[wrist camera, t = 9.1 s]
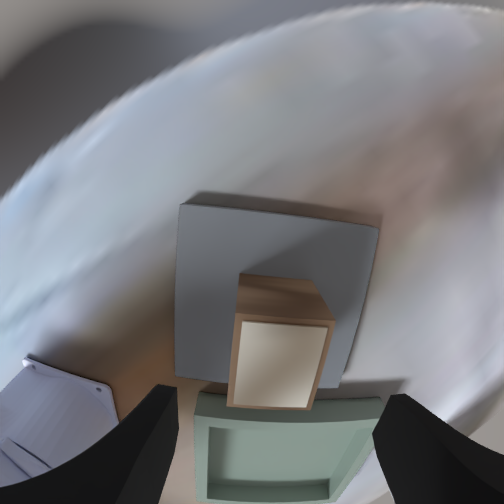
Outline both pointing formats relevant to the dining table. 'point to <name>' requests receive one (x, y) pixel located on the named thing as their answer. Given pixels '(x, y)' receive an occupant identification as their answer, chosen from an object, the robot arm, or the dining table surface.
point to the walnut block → (278, 343)
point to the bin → (280, 450)
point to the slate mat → (267, 264)
